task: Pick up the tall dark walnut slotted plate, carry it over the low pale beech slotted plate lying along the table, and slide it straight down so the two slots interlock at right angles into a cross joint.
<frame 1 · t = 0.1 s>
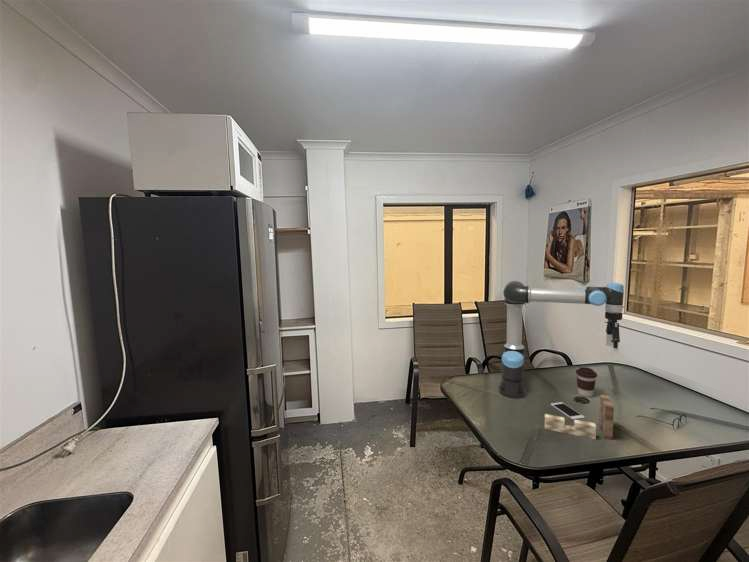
hand: (611, 349, 172), 28 cm above the table, fingers open, 13 cm apart
smartphone: (567, 411, 164), on the table
coffee cup: (585, 394, 180), on the table
walnut cross plate: (605, 431, 145), on the table
glasses: (660, 420, 153), on the table
beech base plate: (569, 432, 145), on the table
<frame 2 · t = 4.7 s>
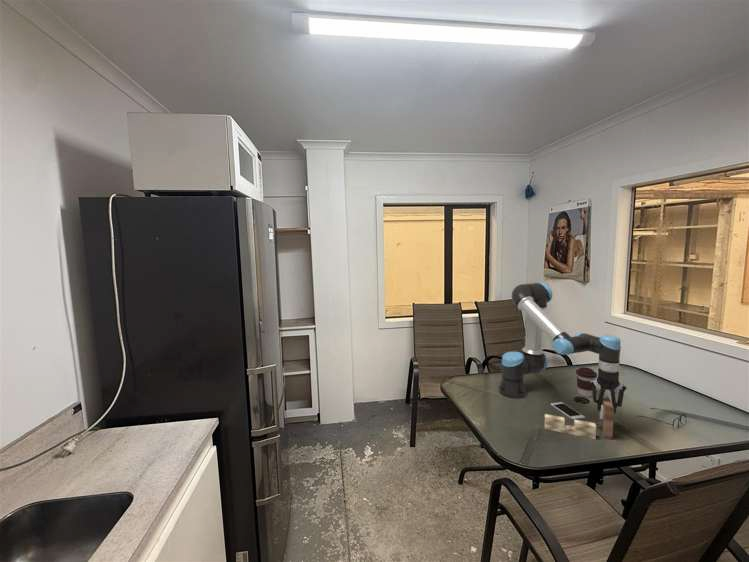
hand: (606, 418, 144), 7 cm above the table, fingers closed on walnut cross plate, 3 cm apart
walnut cross plate: (605, 431, 145), on the table, touching gripper
everything else where it was.
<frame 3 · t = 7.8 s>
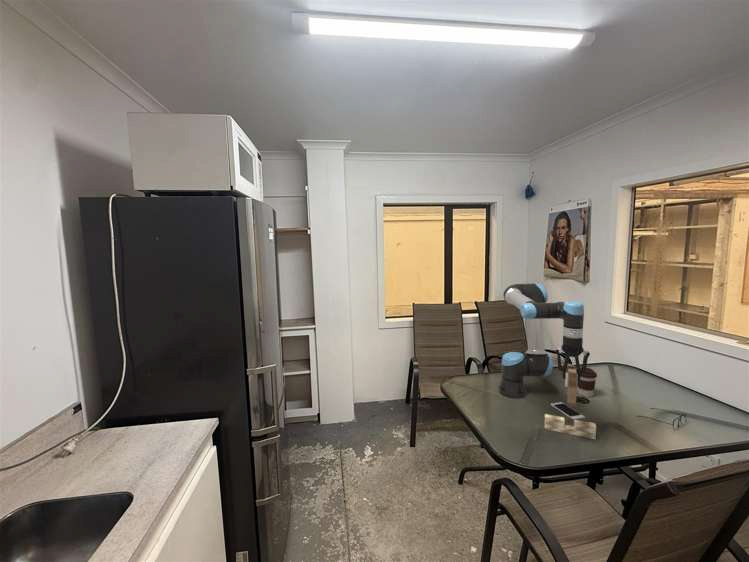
hand: (570, 386, 143), 23 cm above the table, fingers closed on walnut cross plate, 3 cm apart
walnut cross plate: (570, 399, 143), point 16 cm above the table, touching gripper
everything else where it was.
when the fingers open (8 cm above the table, at t = 10.9 s): walnut cross plate drops 1 cm, on the table.
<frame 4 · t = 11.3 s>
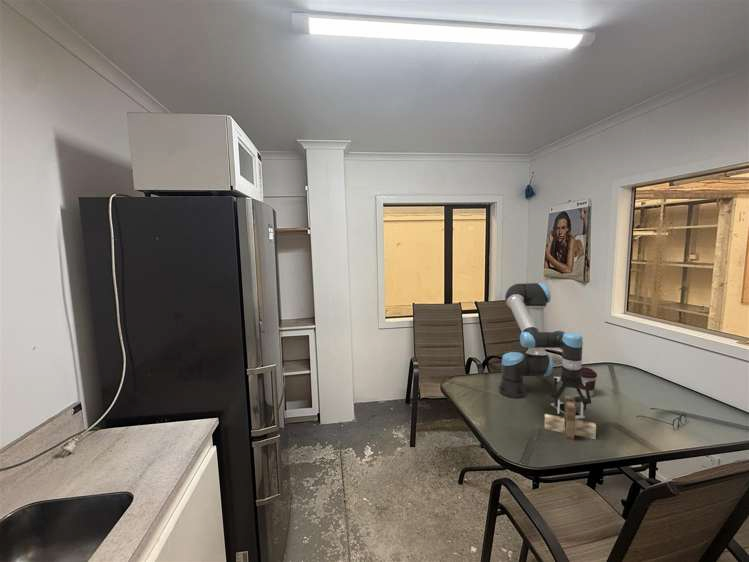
hand: (569, 414, 144), 9 cm above the table, fingers open, 8 cm apart
walnut cross plate: (568, 432, 145), on the table
everything else where it was.
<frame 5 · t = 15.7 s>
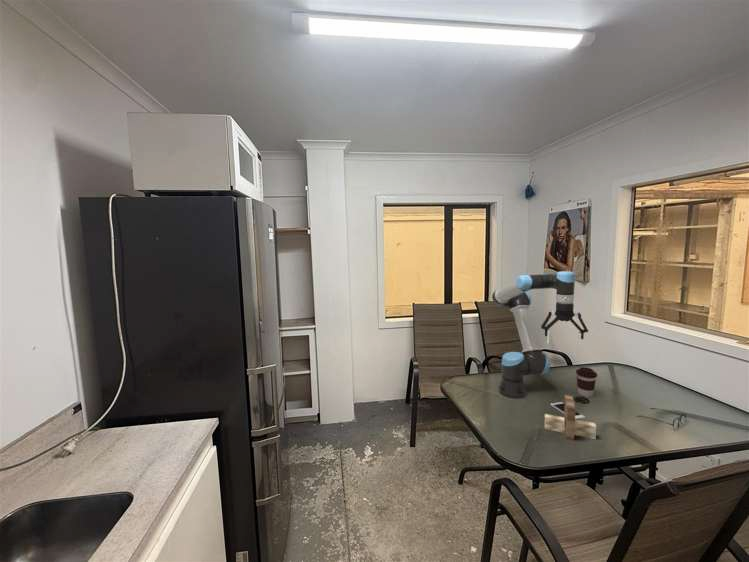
hand: (563, 343, 158), 37 cm above the table, fingers open, 13 cm apart
nothing on the table moved.
at the end: walnut cross plate 0.1 cm off-centre on the beech base plate, point 0.0 cm above the beech base plate's base; walnut cross plate tilted 0°; the gripper is holding nothing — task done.
